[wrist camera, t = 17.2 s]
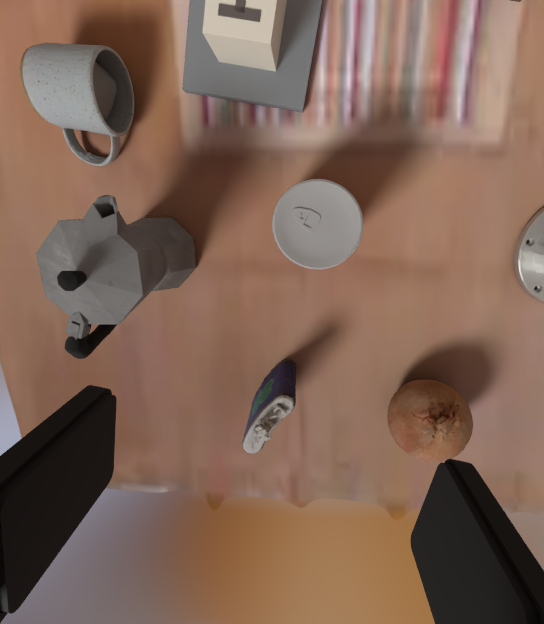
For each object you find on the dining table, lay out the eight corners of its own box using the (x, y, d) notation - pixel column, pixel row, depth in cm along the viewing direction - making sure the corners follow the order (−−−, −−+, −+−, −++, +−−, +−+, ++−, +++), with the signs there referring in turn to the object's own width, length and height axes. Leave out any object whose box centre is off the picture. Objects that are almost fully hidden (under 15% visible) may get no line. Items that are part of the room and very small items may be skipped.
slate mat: (327, -26, 33) (327, -33, 32) (303, 112, 37) (302, 109, 36) (197, -46, 34) (194, -53, 33) (185, 92, 37) (182, 89, 36)
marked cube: (286, 0, 33) (283, -45, 27) (276, 71, 35) (270, 43, 29) (226, -9, 33) (210, -56, 27) (219, 61, 35) (202, 31, 29)
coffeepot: (139, 186, 40) (17, 167, 23) (213, 216, 41) (146, 219, 23) (111, 302, 45) (-9, 358, 28) (177, 328, 45) (100, 400, 28)
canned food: (287, 180, 39) (281, 169, 28) (356, 195, 38) (376, 189, 28) (273, 247, 41) (263, 259, 30) (338, 261, 41) (350, 278, 30)
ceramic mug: (62, 59, 37) (3, 23, 30) (134, 65, 37) (92, 30, 29) (70, 163, 41) (19, 154, 33) (137, 170, 40) (99, 162, 33)
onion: (405, 364, 47) (432, 362, 37) (466, 408, 45) (511, 418, 35) (365, 420, 46) (381, 433, 36) (425, 467, 44) (459, 494, 34)
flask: (263, 414, 48) (252, 469, 37) (246, 403, 47) (230, 456, 37) (301, 365, 45) (299, 410, 35) (282, 353, 45) (276, 395, 35)
